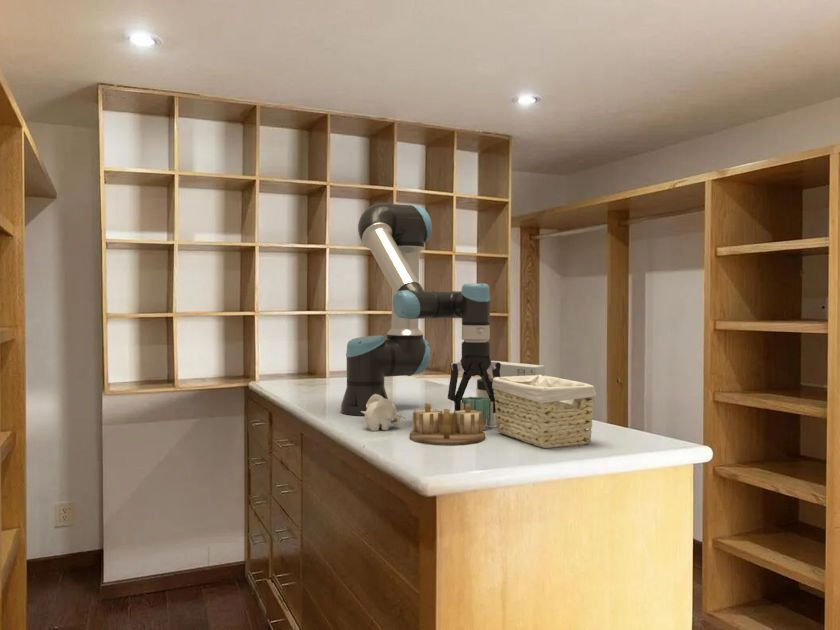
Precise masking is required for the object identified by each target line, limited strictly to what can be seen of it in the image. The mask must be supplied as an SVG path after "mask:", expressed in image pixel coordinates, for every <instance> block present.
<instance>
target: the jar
mask: <svg viewBox="0 0 840 630" xmlns="http://www.w3.org/2000/svg"><path fill="white" fill-rule="evenodd" d="M489 380H490V382H491V385H492V383H493V378H489ZM493 390H494V389H493ZM476 397H483V398H489V396H488V394H487V391H486V388H485V386H484V383H483V381H482V378H478V379H477V380H476ZM489 401H490V399H489ZM486 425H487V419H486ZM494 425H497V422H496V413H493V426H494Z"/></svg>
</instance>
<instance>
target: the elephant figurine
mask: <svg viewBox="0 0 840 630" xmlns="http://www.w3.org/2000/svg"><path fill="white" fill-rule="evenodd" d="M366 407H367V410H366V412H365V411H361V412H362V413H364V414H365V415H364V423H365V426H366V427H367V428H368V429H370V431H371V432H378V431H379V429H380V428H381V430H382V431H388V430H389V428H390V424H393V425H395V426H398V425H399V424H400V422H401V418H402V419H403V420H405V421H407V420H406V419H407V418H405V417H404V416H403V415H401V414H400V413H399V412H398V409H397V407H396V405H395V404H394V403H392V401H391V400H390V399H389V398H388V399H385V398H383V397H382V396H381V395H378V394H374V395H372V396H371V397H370V399H369V400H368V402H367V404H366Z"/></svg>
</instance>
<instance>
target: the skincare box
mask: <svg viewBox="0 0 840 630" xmlns="http://www.w3.org/2000/svg"><path fill="white" fill-rule="evenodd" d="M491 362H499V363H500V364H501V367H500V377H510V376H534V375H542V376H546V365H542V364H541V365H540V364H531V363H519V362H509V361H499V360H491ZM487 373H488V376H489V378H493V373H492V369H491V366H489V368H488V369H487Z"/></svg>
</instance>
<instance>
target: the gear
mask: <svg viewBox="0 0 840 630" xmlns="http://www.w3.org/2000/svg"><path fill="white" fill-rule="evenodd" d="M461 402H462V403H464V410H465V404H471V410H476V411H482V412H483V419H488V418H489V398H483V397H477V396H466V397H462V400H461Z"/></svg>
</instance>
